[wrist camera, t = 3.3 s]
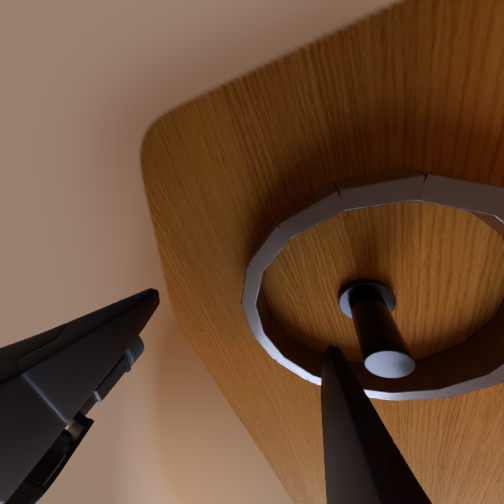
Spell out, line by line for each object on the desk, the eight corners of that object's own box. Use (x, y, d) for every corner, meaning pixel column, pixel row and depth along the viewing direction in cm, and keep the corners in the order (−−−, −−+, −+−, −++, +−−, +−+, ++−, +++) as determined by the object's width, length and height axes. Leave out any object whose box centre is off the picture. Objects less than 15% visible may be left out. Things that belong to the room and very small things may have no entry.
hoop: (239, 334, 18) (232, 355, 16) (273, 144, 10) (266, 144, 8) (420, 394, 15) (434, 425, 14) (655, 212, 8) (757, 232, 6)
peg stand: (330, 308, 14) (339, 371, 10) (349, 272, 12) (368, 332, 8) (377, 321, 13) (406, 393, 9) (403, 286, 11) (451, 356, 8)
